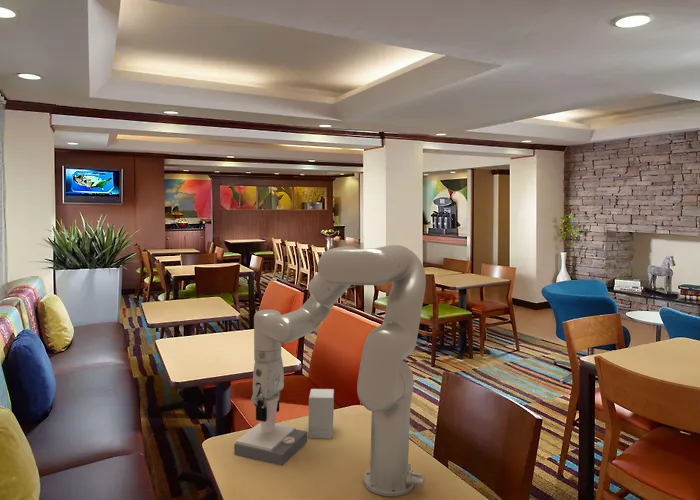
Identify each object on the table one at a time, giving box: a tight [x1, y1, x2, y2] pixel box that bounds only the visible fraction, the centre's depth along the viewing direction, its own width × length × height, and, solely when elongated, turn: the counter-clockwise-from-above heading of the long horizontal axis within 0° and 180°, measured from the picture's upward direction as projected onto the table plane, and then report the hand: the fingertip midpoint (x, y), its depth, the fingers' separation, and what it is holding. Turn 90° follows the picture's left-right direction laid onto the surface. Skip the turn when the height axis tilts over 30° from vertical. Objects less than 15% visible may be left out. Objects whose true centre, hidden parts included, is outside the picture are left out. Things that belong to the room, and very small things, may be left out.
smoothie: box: [259, 394, 280, 432], centre depth 144 cm, size 6×6×14 cm
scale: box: [233, 422, 308, 467], centre depth 145 cm, size 15×15×4 cm
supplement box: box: [307, 388, 335, 439], centre depth 154 cm, size 7×7×13 cm
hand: (267, 415), depth 144 cm, fingers closed on smoothie, 6 cm apart
